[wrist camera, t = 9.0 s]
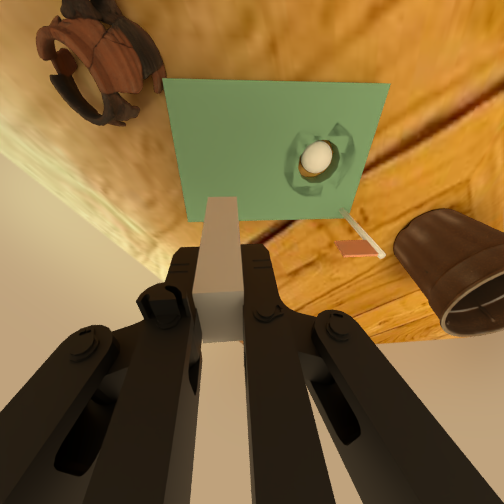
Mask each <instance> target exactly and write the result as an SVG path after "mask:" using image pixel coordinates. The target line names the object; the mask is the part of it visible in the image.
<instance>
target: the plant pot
mask: <svg viewBox="0 0 504 504" xmlns="http://www.w3.org/2000/svg"><path fill="white" fill-rule="evenodd" d="M394 254H395V256H396V257H397V259H398V260H399V261H400V262H401V264H402V265H403V266H404V268H405V269H406V270H407V272H408V273H409V275H410V276H411V277H412V279H413V280H414V281H415V283H416V284H417V285H418V287H419V288H420V289H421V291H422V292H423V293H424V295H425V296H426V298H427V299H428V301H429V305H430V307H431V308H432V309H433V311H434V312H435V314H436V315H437V316H438V318H439V319H440V325H441V327H442V328H443V330H444V331H445V332H446V333H448V334H450V335H453V336H459V337H473V336H481V335H486V334H491V333H495V332H499V331H502V330H504V233H503V232H501V231H499V230H496V229H494V228H492V227H490V226H488V225H485V224H483V223H481V222H479V221H476V220H474V219H472V218H470V217H468V216H465V215H463V214H461V213H459V212H457V211H454V210H451V209H438V210H433V211H430V212H427V213H425V214H423V215H421V216H419V217H417V218H415V219H414V220H412V221H411V222H410V225H409V226H408V227H407V228H406V229H404V230H401V232H400V233H399V234H398V236H397V238H396V240H395V243H394Z"/></svg>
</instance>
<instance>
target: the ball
mask: <svg viewBox="0 0 504 504" xmlns="http://www.w3.org/2000/svg"><path fill="white" fill-rule="evenodd" d="M331 159H332V151H331V148H330V146H329V145H328V144H327V143H326V142H324V141H319V140H317V141H315V142H314V143H312V144H310V145H308V146H307V147H306V148H305V150H304V151H303V153H302V154H301V163H302V166H303V167H304V169H305V170H307V171H308V172H311V173H319V172H321V171H323V170H325V169H326V168H327V167H328V166H329V164H330V162H331Z"/></svg>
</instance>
